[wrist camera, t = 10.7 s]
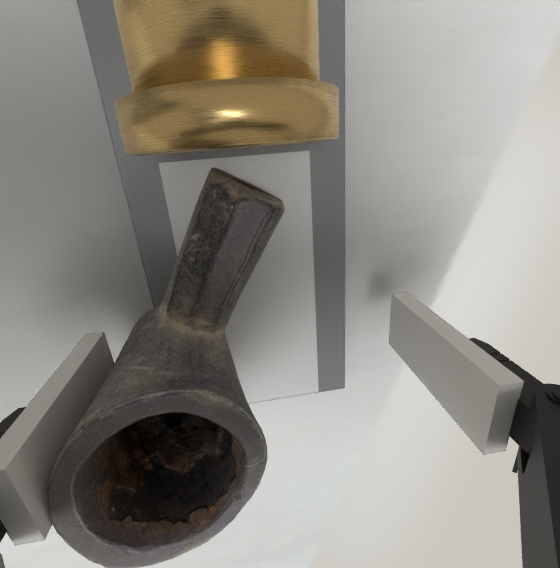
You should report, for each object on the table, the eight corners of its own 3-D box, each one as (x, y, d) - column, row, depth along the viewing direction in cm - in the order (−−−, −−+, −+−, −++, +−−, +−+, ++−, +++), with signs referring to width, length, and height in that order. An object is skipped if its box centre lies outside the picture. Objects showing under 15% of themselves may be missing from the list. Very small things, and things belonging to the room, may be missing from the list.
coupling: (107, -66, 11) (-63, -371, 5) (304, -68, 12) (391, -335, 6) (153, 155, 14) (86, 155, 8) (311, 143, 15) (375, 132, 8)
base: (66, -77, 12) (49, -102, 10) (336, -80, 13) (346, -102, 11) (183, 402, 20) (180, 417, 19) (339, 377, 21) (345, 390, 20)
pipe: (290, 200, 15) (389, 251, 8) (200, 407, 19) (217, 567, 12) (160, 142, 13) (146, 145, 6) (82, 394, 16) (15, 588, 9)
